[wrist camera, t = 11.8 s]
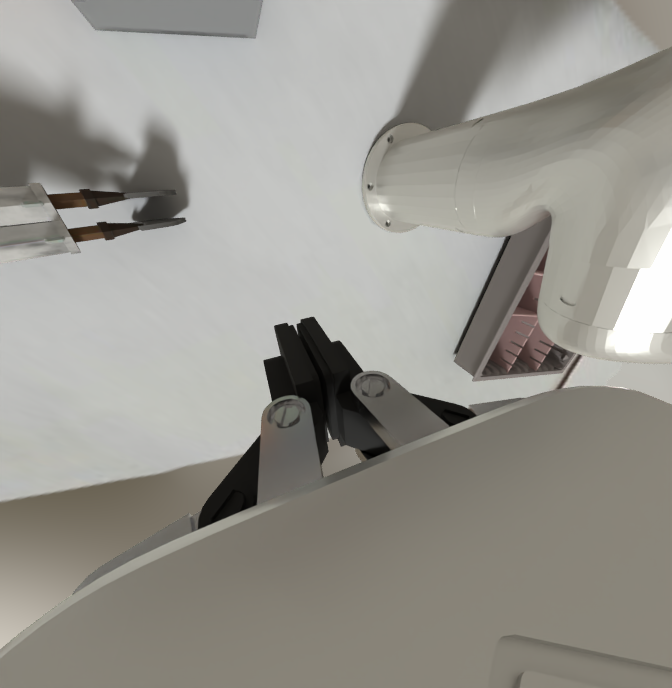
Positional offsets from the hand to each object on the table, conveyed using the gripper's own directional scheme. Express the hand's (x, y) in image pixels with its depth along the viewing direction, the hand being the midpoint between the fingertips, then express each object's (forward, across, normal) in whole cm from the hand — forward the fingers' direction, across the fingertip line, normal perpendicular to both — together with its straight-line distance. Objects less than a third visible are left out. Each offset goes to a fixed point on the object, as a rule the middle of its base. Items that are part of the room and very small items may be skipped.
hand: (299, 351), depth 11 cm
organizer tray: (+28, -57, +16) cm, 65 cm away
